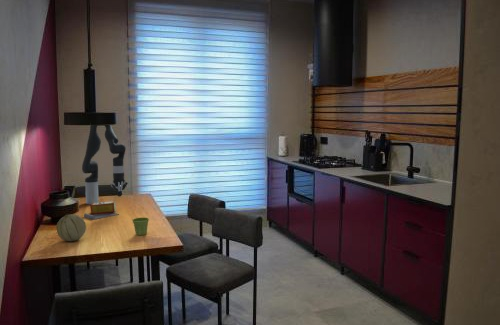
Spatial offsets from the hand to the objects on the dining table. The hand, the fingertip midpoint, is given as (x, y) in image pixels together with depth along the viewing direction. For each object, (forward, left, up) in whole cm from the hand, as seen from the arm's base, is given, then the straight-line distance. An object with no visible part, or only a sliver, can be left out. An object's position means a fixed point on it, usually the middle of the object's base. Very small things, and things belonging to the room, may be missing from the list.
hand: (119, 196), depth 292 cm
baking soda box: (-3, -2, -7) cm, 8 cm away
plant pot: (+59, -22, -12) cm, 64 cm away
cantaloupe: (+41, -54, -12) cm, 69 cm away
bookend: (0, -13, -12) cm, 18 cm away
